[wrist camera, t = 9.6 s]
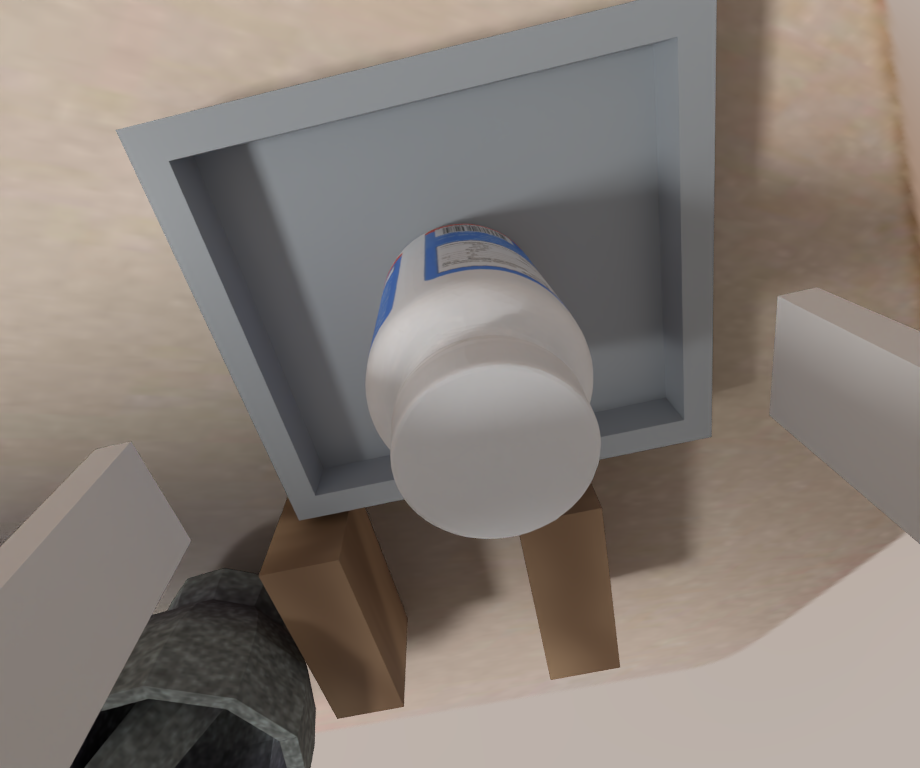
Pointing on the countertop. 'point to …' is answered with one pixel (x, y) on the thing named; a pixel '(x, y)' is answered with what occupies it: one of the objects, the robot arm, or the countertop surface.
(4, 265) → the countertop surface
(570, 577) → the slot holder
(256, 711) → the mortar and pestle
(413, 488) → the pill bottle
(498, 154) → the tray
